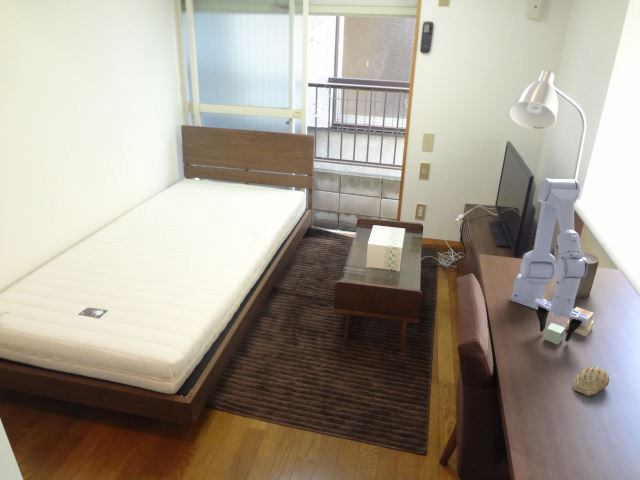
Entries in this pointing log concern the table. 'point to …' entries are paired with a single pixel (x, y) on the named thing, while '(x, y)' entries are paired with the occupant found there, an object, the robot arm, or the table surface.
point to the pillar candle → (588, 276)
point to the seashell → (591, 380)
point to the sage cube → (554, 333)
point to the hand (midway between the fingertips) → (554, 334)
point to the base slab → (582, 329)
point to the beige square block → (584, 314)
